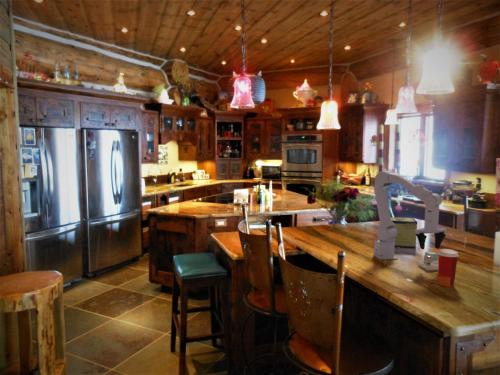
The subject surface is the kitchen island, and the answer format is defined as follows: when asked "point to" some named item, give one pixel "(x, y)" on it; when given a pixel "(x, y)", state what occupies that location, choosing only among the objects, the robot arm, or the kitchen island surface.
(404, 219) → the protein box
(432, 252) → the teal block
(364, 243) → the kitchen island surface
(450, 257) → the paper cup
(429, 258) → the silver metal cylinder
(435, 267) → the parts tray
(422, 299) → the kitchen island surface
